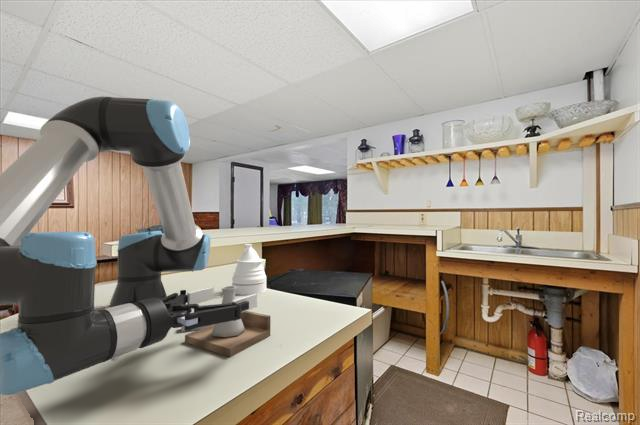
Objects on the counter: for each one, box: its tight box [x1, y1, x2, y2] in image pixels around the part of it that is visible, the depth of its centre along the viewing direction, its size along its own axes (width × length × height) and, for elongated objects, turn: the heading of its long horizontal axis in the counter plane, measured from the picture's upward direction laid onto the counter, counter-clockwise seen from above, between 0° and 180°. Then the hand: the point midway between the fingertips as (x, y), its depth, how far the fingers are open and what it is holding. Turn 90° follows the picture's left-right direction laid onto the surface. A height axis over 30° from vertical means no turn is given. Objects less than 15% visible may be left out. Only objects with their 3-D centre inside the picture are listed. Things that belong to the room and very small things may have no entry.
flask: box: [212, 285, 245, 337], centre depth 64 cm, size 7×7×10 cm
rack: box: [184, 310, 271, 358], centre depth 64 cm, size 14×12×4 cm
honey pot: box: [231, 243, 267, 296], centre depth 110 cm, size 13×13×18 cm
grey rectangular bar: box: [180, 325, 210, 333], centre depth 71 cm, size 2×10×2 cm, turn 114°
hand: (233, 296), depth 65 cm, fingers open, 13 cm apart
